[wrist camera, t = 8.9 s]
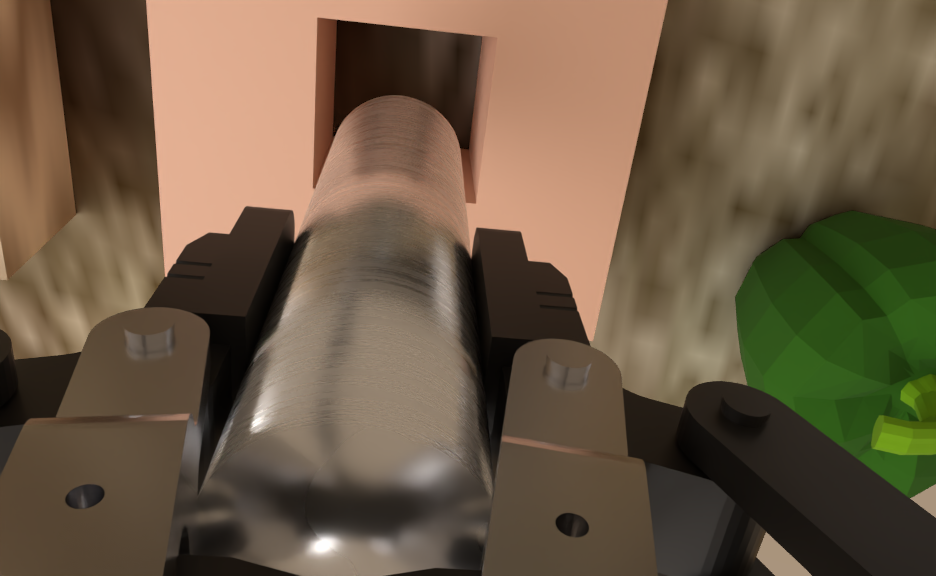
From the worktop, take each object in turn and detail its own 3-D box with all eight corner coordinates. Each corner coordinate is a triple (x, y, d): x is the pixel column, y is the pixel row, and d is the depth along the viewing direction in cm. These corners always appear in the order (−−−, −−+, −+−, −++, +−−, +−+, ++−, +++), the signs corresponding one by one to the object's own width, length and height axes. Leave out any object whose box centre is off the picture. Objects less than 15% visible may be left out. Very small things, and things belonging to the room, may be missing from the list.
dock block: (192, -185, 22) (132, -200, 18) (644, -125, 23) (695, -124, 19) (209, 238, 28) (167, 307, 24) (568, 270, 29) (593, 340, 25)
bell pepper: (975, 237, 29) (1211, 395, 20) (829, 399, 32) (978, 596, 24) (801, 134, 27) (980, 260, 18) (663, 318, 30) (759, 501, 21)
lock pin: (334, 88, 18) (181, 411, 7) (468, 102, 18) (520, 435, 7) (329, 213, 19) (195, 645, 8) (454, 224, 19) (480, 657, 8)
